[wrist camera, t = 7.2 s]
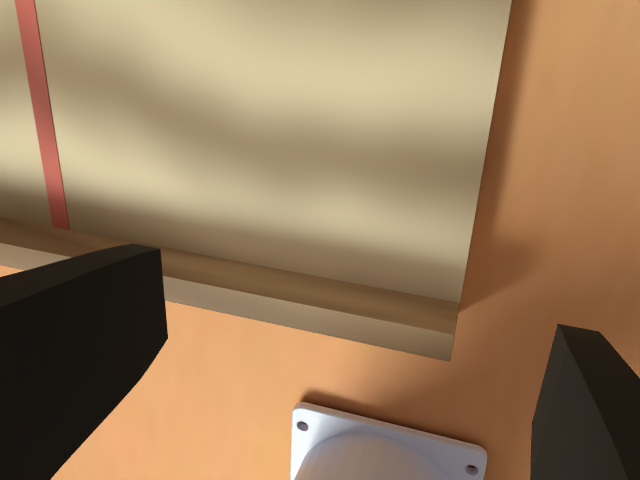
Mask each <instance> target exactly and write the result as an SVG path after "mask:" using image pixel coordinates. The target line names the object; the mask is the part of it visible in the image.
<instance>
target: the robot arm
mask: <svg viewBox="0 0 640 480" xmlns="http://www.w3.org/2000/svg"><path fill="white" fill-rule="evenodd" d="M167 339H168V333H167V321H166V309H165V297H164V284H163V272H162V260H161V249H159V248H154V247H148V246H143V245H138V244H127V245H120V246H115V247H111V248H106V249H102V250H98V251H94V252H90V253H87V254H83V255H79V256H76V257H72V258H68V259H65V260H61V261H58V262H54V263H51V264H47V265H43V266H40V267H36V268H33V269H29V270H26V271H22V272H19V273H15V274H11V275H7V276H3V277H0V480H50V479H51V478H52V477H53V476H54V475H55V473H56V472H57V471H58V470H59V469H60V468H61V466H62V465H63V464H64V463H65V462H66V461H67V460H68V459H69V458H70V457H71V455H72V454H73V453H74V452H75V451H76V450H77V449H78V448H79V447H80V446H81V445H82V443H83V442H84V441H85V440H86V439H87V438H88V437H89V436H90V435H91V434H92V433H93V431H94V430H95V429H96V428H97V427H98V426H99V425H100V424H101V423H102V422H103V421H104V419H105V418H106V417H107V416H108V415H109V414H110V413H111V412H112V411H113V410H114V408H115V407H116V406H117V405H118V404H119V403H120V402H121V401H122V400H123V398H124V397H125V396H126V395H127V394H128V393H129V392H130V391H131V389H132V388H133V387H134V386H135V385H136V384H137V383H138V381H139V380H140V379H141V378H142V376H143V375H144V373H145V372H146V371H147V369H148V368H149V366H150V365H151V363H152V362H153V361H154V359H155V358H156V356H157V354H158V353H159V351H160V350H161V348H162V347H163V345H164V343H165V342H166V340H167ZM301 421H303V422H305V423H306V424H307V425H305V424H303V423H302V422H301ZM468 465H473V466H475V467H476V468H471V467H468ZM486 465H487V453H486V451H485V450H484V449H483V448H482V447H481V446H478V445H475V444H471V443H467V442H463V441H459V440H455V439H451V438H447V437H443V436H439V435H435V434H431V433H427V432H423V431H419V430H415V429H411V428H407V427H403V426H399V425H395V424H391V423H387V422H383V421H379V420H375V419H371V418H367V417H363V416H359V415H355V414H351V413H347V412H343V411H339V410H335V409H331V408H327V407H323V406H319V405H315V404H311V403H307V402H300V403H297V404H296V405H295V407H294V409H293V412H292V432H291V466H290V480H483V478H484V474H485V469H486ZM530 480H640V378H639V377H638V376H637V375H636V374H635V372H634V371H633V370H632V369H631V368H630V367H629V365H628V364H627V363H626V362H625V361H624V360H623V358H622V357H621V356H620V355H619V354H618V352H617V351H616V350H615V349H614V348H613V347H612V345H611V344H610V343H609V342H608V341H607V340H606V339H605V337H604V336H603V335H602V334H601V333H600V332H598V331H592V330H587V329H582V328H576V327H571V326H566V325H561V324H558V326H557V329H556V333H555V337H554V341H553V345H552V349H551V352H550V356H549V360H548V364H547V368H546V372H545V375H544V379H543V383H542V387H541V391H540V395H539V398H538V402H537V406H536V410H535V414H534V418H533V422H532V439H531V475H530Z"/></svg>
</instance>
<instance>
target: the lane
mask: <svg viewBox="0 0 640 480" xmlns="http://www.w3.org/2000/svg"><path fill="white" fill-rule="evenodd" d="M511 2H512V0H0V265H2V266H7V267H12V268H16V269H21V270H29V269H33V268H36V267H40V266H43V265H47V264H51V263H54V262H58V261H61V260H65V259H68V258H72V257H76V256H79V255H83V254H87V253H90V252H94V251H98V250H102V249H106V248H111V247H115V246H120V245H127V244H138V245H143V246H148V247H154V248H159V249H161V260H162V272H163V284H164V297H165V301H170V302H174V303H179V304H184V305H188V306H193V307H198V308H202V309H207V310H212V311H216V312H221V313H226V314H230V315H235V316H240V317H244V318H249V319H254V320H258V321H263V322H268V323H272V324H277V325H282V326H286V327H291V328H295V329H300V330H305V331H309V332H314V333H319V334H323V335H328V336H333V337H337V338H342V339H347V340H351V341H356V342H361V343H365V344H370V345H375V346H379V347H384V348H389V349H393V350H398V351H402V352H407V353H412V354H416V355H421V356H426V357H430V358H435V359H440V360H444V361H449V362H450V359H451V353H452V347H453V341H454V336H455V330H456V324H457V318H458V312H459V306H460V300H461V294H462V289H463V283H464V277H465V271H466V265H467V259H468V254H469V248H470V242H471V236H472V230H473V224H474V218H475V213H476V207H477V201H478V195H479V189H480V183H481V178H482V172H483V166H484V160H485V154H486V148H487V143H488V137H489V131H490V125H491V119H492V113H493V108H494V102H495V96H496V90H497V84H498V78H499V73H500V67H501V61H502V55H503V49H504V43H505V38H506V32H507V26H508V20H509V14H510V8H511Z"/></svg>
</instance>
